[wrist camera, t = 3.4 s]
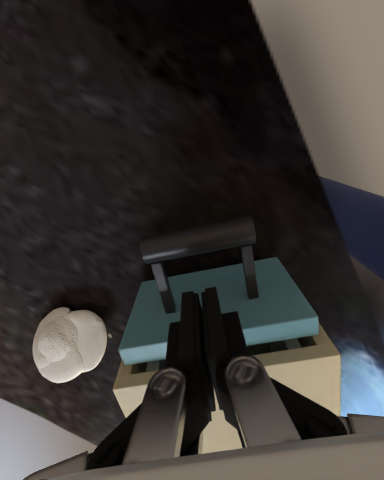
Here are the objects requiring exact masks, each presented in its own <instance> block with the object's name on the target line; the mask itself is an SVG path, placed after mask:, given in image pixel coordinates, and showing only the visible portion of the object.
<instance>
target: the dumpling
mask: <svg viewBox="0 0 384 480" xmlns="http://www.w3.org/2000/svg"><path fill="white" fill-rule="evenodd" d="M108 336H109V337H110V338H112V335H111V334H110V333H109V334H108ZM106 344H107V333H106V327H105V324H104V322H103V320H102V319H101V318H100V317H99V316H98V315H97V314H95V313H94V312H92V311H88V310H77V311H71V310H69V308H67V307H62V308H57V309H55V310H52V312H50V313H49V314H47V316H46V317H45V318H44V319H42V321H41V322H40V324H39V326H38V329H37V331H36V333H35V337H34V341H33V357H34V361H35V364H36V366H37V368H38V370H39V372H40V373H41V375H42V376H43V377H45V378H46V379H48V380H49V381H52V382H55V383H63V382H67V381H69V380H72V379H73V378H75V377H77V376H78V375H79V374H80V373H82V372H87V371H90V370H92V369H94V368H95V367H96V366H97V365H98V364H99V362H100V361H101V359H102V357H103V355H104V352H105V348H106Z"/></svg>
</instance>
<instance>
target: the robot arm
mask: <svg viewBox="0 0 384 480" xmlns="http://www.w3.org/2000/svg"><path fill="white" fill-rule="evenodd" d="M201 299H202V307H201V303H200V299H199V295H198V293H194V292H193V291H189V292H183V293H182V297H181V316H180V321H178V322H172V323H170V324H169V332H168V341H167V350H166V360H165V368H163V369H161V370H159V371H158V372H156V373H155V374H154V375H153V376H152V377H151V379H150V381H149V383H148V385H147V388H146V391H145V394H144V397H143V401H142V403H141V404H140V405H139V406H138V407H137V408H136V409H135V410H134V411H133V412H132V413H131V414H130V415H129V416H128V417H127V418H126V419H125V420H124V421H123V422H122V423H121V424H120V425H118V426H117V427H116V428H115V429H114V430H113V431H112V432H111V433H110V434H109V435H108V436H107V437H106V438H105V439H104V440H103V441H102V442H101V443H100V444H99V446H98V447H97V448H96V449H95V451H94V452H93V453H90V454H89V453H88V451H86V452H84V453H81V454H79V455H76V456H74V457H71V458H69V459H66V460H64V461H61V462H59V463H56V464H54V465H52V466H49V467H47V468H44V469H42V470H39V471H37V472H34V473H32V474H30V475H29V476H27V477H25V478H24V479H23V480H384V417H381V416H370V415H359V414H347V417H342V416H337V415H335V414H334V413H333V412H331V411H330V410H328V409H327V408H325V407H323V406H321V405H319V404H318V403H316V402H314V401H312V400H310V399H309V398H307V397H305V396H303V395H301V394H300V393H298V392H296V391H294V390H292V389H291V388H289V387H287V386H285V385H283V384H282V383H280V382H278V381H276V380H274V379H273V378H271V377H269V375H268V373H267V371H266V369H265V367H264V365H263V364H262V363H261V361H260V360H258V359H257V358H255V357H253V356H250V355H249V353H248V349H247V345H246V342H245V338H244V334H243V330H242V327H241V323H240V319H239V315H238V312H237V311H234V312H228V313H221V308H220V303H219V299H218V294H217V289H216V286H215V287H210V288H205V292H201ZM214 390H215V394H216V398H217V401H218V405H219V409H220V410H223V412H224V416H225V420H226V421H227V422H228V423H229V424H231V425H232V426H233V427H234V428H236V429H237V432H238V436H239V439H240V443H241V446H242V448H240V449H233V450H225V451H218V452H211V453H204V454H202V447H203V432H202V431H203V430H204V429H205V427H206V426H207V425H208V423H209V422H211V421H212V416H211V412H213V411H216V406H215V395H214Z"/></svg>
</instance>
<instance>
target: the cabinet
mask: <svg viewBox="0 0 384 480" xmlns="http://www.w3.org/2000/svg"><path fill="white" fill-rule="evenodd" d="M318 325H319V334H318V335H313V336H307V337H300V338H297V339H298V341H299V343H300V345H301V347H302V348H296V349H290V350H283V351H277V352H271V353H264V354H258V355H252V356H253V357H255V358H257V359H258V360H260V361H261V363H262V364H263V365H264V367H265V369H266V371H267V373H268V375H269V377H271V378H273V379H274V380H276V381H278V382H280V383H282V384H283V385H285V386H287V387H289V388H291V389H292V390H294V391H296V392H298V393H300V394H301V395H303V396H305V397H307V398H309V399H310V400H312V401H314V402H316V403H318V404H319V405H321V406H323V407H325V408H327V409H328V410H330V411H331V412H333V413H334V414H335V415H337V416H340V403H341V354H340V353H339V351H338V350H337V349H336V347H335V346H334V344H333V343H332V342H331V340H330V339H329V337H328V336H327V334H326V333H325V331H324V330H323V328H322V327H321V325H320V324H319V322H318ZM147 363H148V362H144V363H138V364H132V365H124V362H123V360H122V362H121V365H120V368H119V371H118V374H117V377H116V380H115V383H114V386H113V392H114V394H115V396H116V398H117V400H118V402H119V405H120V407H121V409H122V411H123V413H124V415H125V417H126V418H127V417H128V416H129V415H130V414H131V413H132V412H133V411H134V410H135V409H136V408H137V407H138V406H139V405H140V404H141V403H142V401H143V397H144V394H145V391H146V388H147V385H148V383H149V381H150V379H151V377H152V376H153V375H154V374H155V373H156V372H158V371H159V370H156V371H150V372H146V368H147ZM214 395H215V406H216V411H213V412H211V416H212V421H211V422H209V423H208V425H207V426H206V427H205V429H204V430H203V431H202V432H203V447H202V454H204V453H211V452H218V451H225V450H233V449H240V448H242V446H241V443H240V439H239V436H238V432H237V429H236V428H234V427H233V426H232V425H231V424H229V423H228V422H227V421H226V420H225V416H224V412H223V410H220V409H219V405H218V401H217V398H216V394H215V390H214Z"/></svg>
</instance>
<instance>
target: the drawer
mask: <svg viewBox="0 0 384 480" xmlns="http://www.w3.org/2000/svg"><path fill="white" fill-rule="evenodd" d="M253 243H256V232H255V227H254V223H253V220H252V218H251V216H244V217H239V218H234V219H229V220H224V221H219V222H214V223H210V224H205V225H200V226H195V227H190V228H185V229H180V230H175V231H170V232H165V233H160V234H155V235H150V236H145V237H141V238H140V252H141V256H142V259H143V261H144V262H145V263H146V264H149V263H151V267H152V271H153V274H154V277H155V280H150V281H145V282H142V283H141V286H140V289H139V291H138V294H137V297H136V300H135V303H134V306H133V309H132V312H131V314H130V317H129V320H128V323H127V326H126V329H125V332H124V335H123V337H122V340H121V343H120V346H119V349H118V350H119V353H120V355H121V358H122V360H123V362H124V365H132V364H138V363H144V362H148V363H147V368H146V372H150V371H156V370H161V369H163V368H165V360H166V350H167V341H168V332H169V324H170V323H172V322H178V321H180V316H181V297H182V293H183V292H189V291H193V292H194V293H198V295H199V299H200V303H201V307H202V299H201V292H205V288H210V287H215V286H216V289H217V294H218V299H219V303H220V308H221V313H228V312H234V311H237V312H238V315H239V319H240V323H241V327H242V330H243V334H244V338H245V342H246V345H247V349H248V353H249V355H250V356H252V355H258V354H264V353H271V352H277V351H283V350H290V349H296V348H302V347H301V345H300V343H299V341H298V339H297V338H300V337H307V336H313V335H318V334H319V325H318V316H317V314H316V313H315V311H314V310H313V308H312V307H311V305H310V304H309V303H308V301H307V300H306V298H305V297H304V295H303V294H302V292H301V291H300V290H299V288H298V287H297V285H296V284H295V282H294V281H293V279H292V278H291V277H290V275H289V274H288V272H287V271H286V269H285V268H284V266H283V265H282V263H281V262H280V261H279V259H278V258H277V257H273V258H268V259H263V260H257V261H254V257H253V250H252V245H251V244H253ZM238 246H240V252H241V258H242V263H241V264H236V265H230V266H225V267H220V268H214V269H209V270H204V271H198V272H193V273H188V274H182V275H177V276H172V277H167V274H166V270H165V267H164V263H163V261H165V260H170V259H175V258H181V257H186V256H191V255H196V254H201V253H207V252H212V251H217V250H222V249H227V248H233V247H238Z"/></svg>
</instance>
